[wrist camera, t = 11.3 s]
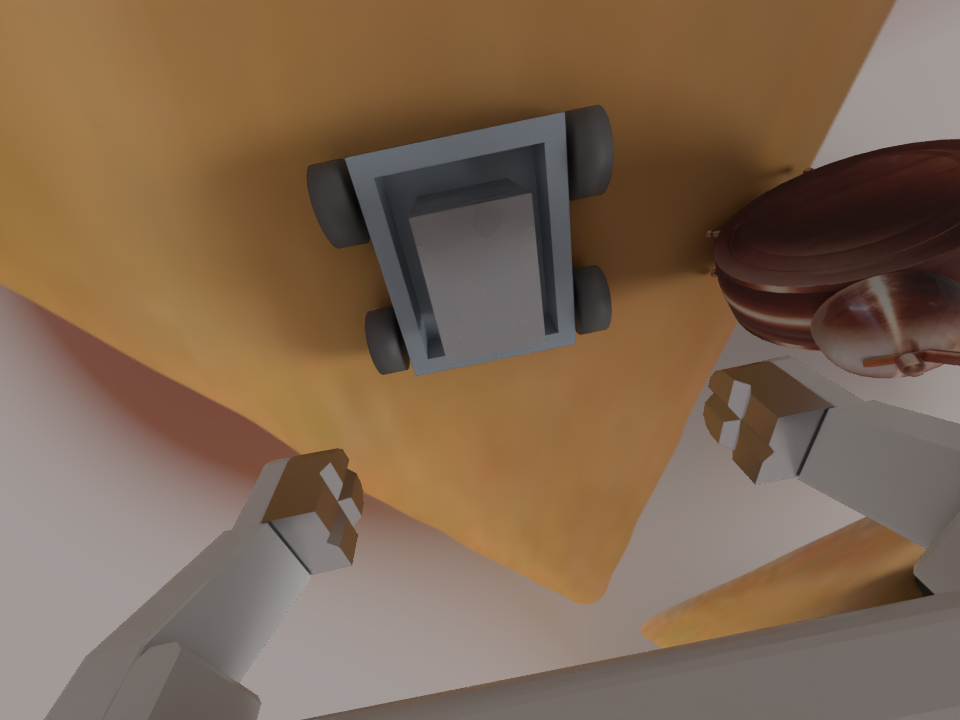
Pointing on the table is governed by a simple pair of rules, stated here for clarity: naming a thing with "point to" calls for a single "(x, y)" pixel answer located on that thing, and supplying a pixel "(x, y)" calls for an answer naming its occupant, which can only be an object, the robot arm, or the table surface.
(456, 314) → the grey rectangular cuboid
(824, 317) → the alarm clock
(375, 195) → the chassis
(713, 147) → the table surface
